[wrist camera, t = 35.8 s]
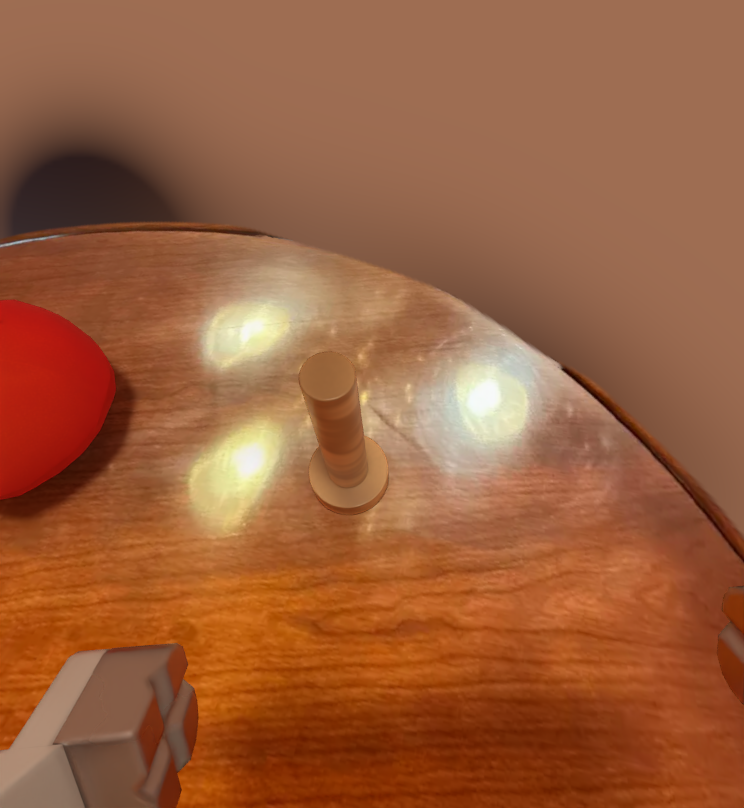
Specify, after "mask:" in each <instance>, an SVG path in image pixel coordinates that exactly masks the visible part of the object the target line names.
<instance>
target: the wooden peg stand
mask: <svg viewBox="0 0 744 808" xmlns="http://www.w3.org/2000/svg"><path fill="white" fill-rule="evenodd" d="M299 384H300V387H301V390H302V393H303V396H304V400H305V403H306V406H307V409H308V412H309V415H310V418H311V421H312V424H313V427H314V430H315V433H316V436H317V440H318V443H319V447H318V448H317V449H316V451H315V452H314V454H313V456H312V458H311V461H310V465H309V480H310V483H311V486H312V488H313V491H314V493H315V495H316V497H317V498H318V500H319V501H320V502H321V503H322V504H323V505H324V506H325V507H326V508H328V509H329V510H331V511H334V512H336V513H339V514H345V515H352V514H358V513H362V512H364V511H367V510H369V509H370V508H372V507H373V506H375V505H376V504H377V503H378V502H379V501H380V499H381V498H382V497H383V495H384V493H385V491H386V488H387V485H388V462H387V459H386V456H385V454H384V452H383V450H382V449H381V448H380V446H379V445H378V444H377V443H376V442H375V441H373V440H372V439H370V438H368V437H366V436H364V432H363V424H362V417H361V409H360V401H359V394H358V386H357V379H356V371H355V368H354V365H353V364H352V362H351V361H350V360H349V359H348V358H347V357H345V356H344V355H342V354H339V353H336V352H321V353H318V354H315V355H313V356H312V357H310V358H309V359H308V360H307V361H306V362H305V363H304V364H303V366H302V367H301V370H300V373H299Z"/></svg>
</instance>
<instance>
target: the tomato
mask: <svg viewBox="0 0 744 808" xmlns="http://www.w3.org/2000/svg"><path fill="white" fill-rule="evenodd" d="M115 391H116V384H115V375H114V370H113V368H112V367H111V365H110V363H109V361H108V359H107V357H106V356H105V355H104V353H103V352H102V350H101V349H100V347H99V346H98V345H97V344H96V343H95V342H94V340H93V339H92V338H91V337H89V336H88V335H87V334H85V333H84V332H83V331H82V330H80V329H79V328H78V327H76V326H75V325H74V324H72V323H71V322H70V321H68V320H66V319H65V318H63V317H61V316H60V315H58V314H55V313H53V312H51V311H48V310H46V309H44V308H41V307H38V306H34V305H31V304H27V303H24V302H21V301H17V300H0V500H2V499H7V498H12V497H16V496H21V495H23V494H24V493H26V492H28V491H30V490H32V489H33V488H35V487H37V486H39V485H40V484H42V483H44V482H45V481H47V480H49V479H50V478H52V477H54V476H55V475H57V474H59V473H60V472H62V471H63V470H64V469H65V468H66V467H68V466H69V465H70V464H71V463H72V462H73V461H74V460H76V459H77V458H78V457H79V456H80V455H81V454H83V453H84V451H85V450H86V449H87V447H88V446H89V445H90V443H91V442H92V441H93V440H94V438H95V437H96V436H97V434H98V433H99V432H100V430H101V428H102V425H103V423H104V421H105V418H106V416H107V413H108V411H109V409H110V406H111V404H112V402H113V399H114V395H115Z"/></svg>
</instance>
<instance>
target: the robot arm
mask: <svg viewBox="0 0 744 808" xmlns="http://www.w3.org/2000/svg"><path fill="white" fill-rule="evenodd" d="M722 612H723V613H724V614H725V615H726V617H727V618H728V619H729V621H730V622H729V623H728V625H727V626H726V627H725V628H724V629H723V630H722V631H721V633H720V634H719V635H718V647H717V656H718V660H719V663H720V667H721V671H722V674H723V676H724V678H725V680H726V682H727V683H728V685H729V687H730V689H731V690H732V691H733V693H734V694H735V695H736V697H737V698H738V699H739V700H740V702H741V703H742V704H744V586H738V587H729V589H728V590H727V592H726V593H725V595H724V597H723V604H722ZM187 666H188V662H187V659H186V655H185V652H184V649H183V646H181V645H179V644H177V643H174V644H161V645H148V646H135V647H122V648H112V649H103V650H91V651H78V652H77V653H75V654H74V655H72V656H70V657H69V658H68V660H67V661H66V663H65V664H64V666H63V667H62V669H61V670H60V672H59V673H58V675H57V676H56V678H55V679H54V681H53V682H52V684H51V686H50V687H49V689H48V690H47V692H46V693H45V695H44V696H43V698H42V699H41V701H40V702H39V704H38V705H37V707H36V709H35V710H34V712H33V713H32V715H31V716H30V718H29V719H28V721H27V722H26V724H25V725H24V727H23V728H22V730H21V732H20V733H19V735H18V736H17V738H16V739H15V741H14V742H13V744H12V745H11V747H10V748H9V750H0V808H176V807H177V803H178V800H179V797H180V794H181V790H182V789H181V786H180V782H179V778H178V774H177V773H178V772H179V771H180V770H181V769H182V768H183V767H184V766H185V765H186V764H187V763H188V762H189V761H190V760H191V757H192V753H193V750H194V746H195V742H196V737H197V727H198V705H197V698H196V694H195V690H194V688H193V687H192V686H191V685H190V684H188V683H187V682H186V681H185V680H184V679H183V677H184V675H185V672H186V669H187Z"/></svg>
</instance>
